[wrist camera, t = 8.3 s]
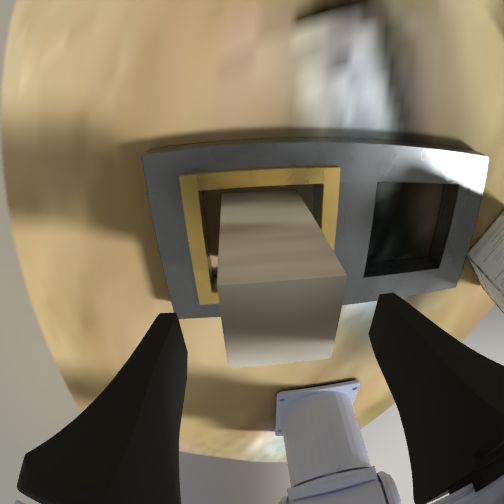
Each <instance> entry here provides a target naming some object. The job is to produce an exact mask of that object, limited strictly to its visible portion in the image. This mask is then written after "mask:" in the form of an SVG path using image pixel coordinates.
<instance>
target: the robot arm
mask: <svg viewBox="0 0 504 504" xmlns="http://www.w3.org/2000/svg"><path fill="white" fill-rule="evenodd" d="M369 337H370V341H371V344H372V347H373V351H374V354H375V357H376V359H377V362H378V364H379V366H380V368H381V371H382V373H383V375H384V377H385V380H386V382H387V384H388V386H389V389H390V391H391V393H392V395H393V398H394V400H395V402H396V405H397V408H398V411H399V413H400V417H401V421H402V425H403V428H404V432H405V436H406V441H407V446H408V451H409V456H410V463H411V470H412V478H413V496H414V502H415V504H427V503H429V502H431V501H433V500H435V499H437V498H440V497H442V496H444V495H446V494H448V493H449V494H450V495H449V496H446V497H445V498H442V499H440V500H438V501H436V502H434V503H432V504H504V366H503V365H501V364H499V363H496V362H494V361H492V360H490V359H488V358H486V357H485V356H483V355H481V354H479V353H477V352H476V351H474V350H472V349H470V348H469V347H467V346H466V345H464V344H463V343H461V342H459V341H458V340H457V339H455V338H454V337H452V336H451V335H449V334H448V333H447V332H445V331H444V330H442V329H441V328H440V327H438V326H437V325H436V324H434V323H433V322H432V321H430V320H429V319H428V318H427V317H425V316H424V315H423V314H421V313H420V312H419V311H418V310H416V309H415V308H414V307H412V306H411V305H410V304H409V303H407V302H406V301H405V300H403V299H402V298H401V297H399V296H398V295H396V294H395V293H386V294H379V298H378V301H377V305H376V309H375V313H374V317H373V320H372V324H371V327H370V331H369ZM187 354H188V352H187V349H186V345H185V342H184V338H183V334H182V331H181V327H180V323H179V320H178V316H177V313H160V314H159V315H158V316H157V318H156V319H155V321H154V322H153V324H152V325H151V327H150V328H149V330H148V331H147V333H146V334H145V336H144V337H143V339H142V341H141V342H140V343H139V345H138V346H137V348H136V349H135V351H134V352H133V354H132V355H131V356H130V358H129V359H128V361H127V362H126V363H125V365H124V366H123V367H122V368H121V370H120V371H119V372H118V374H117V375H116V376H115V378H114V379H113V380H112V381H111V382H110V384H109V385H108V386H107V387H106V388H105V389H104V391H103V392H102V393H101V394H100V395H99V396H98V397H97V398H96V399H95V400H94V401H93V402H92V403H91V404H90V405H89V406H88V407H87V408H86V409H85V410H84V411H83V412H82V413H81V414H80V415H79V416H78V417H77V418H76V419H75V420H73V421H72V422H71V423H70V424H68V425H67V426H66V427H65V428H63V429H62V430H61V431H60V432H58V433H57V434H56V435H54V436H53V437H52V438H50V439H49V440H47V441H46V442H44V443H43V444H41V445H40V446H38V447H36V448H35V449H33V450H32V451H30V452H28V453H27V454H25V457H24V460H23V464H22V468H21V471H20V475H19V479H18V483H17V488H18V490H19V491H20V492H21V493H23V494H24V495H26V496H28V497H30V498H32V499H33V500H35V501H37V502H39V503H41V504H181V497H180V482H179V432H180V424H181V416H182V409H183V402H184V395H185V387H186V380H187ZM360 385H361V383H360V381H359V380H353V381H348V382H343V383H337V384H331V385H325V386H319V387H312V388H305V389H297V390H289V391H281V392H279V393H277V399H276V425H275V435H276V436H284V442H285V449H286V456H287V462H288V469H289V475H290V482H291V488H288V489H287V492H288V496H284V497H282V498H281V500H280V502H279V503H278V504H401V500H400V496H399V493H398V490H397V487H396V485H395V482H394V481H393V478H392V477H391V476H390V475H389V474H386V473H385V472H383V471H381V472H378V473H376V470H375V466H373V467H371V465H370V462H369V458H368V455H367V451H366V448H365V445H364V441H363V438H362V435H361V431H360V428H359V425H358V422H357V419H356V415H355V412H354V409H353V406H352V405H353V402H354V400H355V397H356V395H357V392H358V390H359V387H360ZM15 504H25V503H22V502H20V501H18V500H16V501H15Z"/></svg>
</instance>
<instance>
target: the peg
mask: <svg viewBox="0 0 504 504" xmlns="http://www.w3.org/2000/svg"><path fill="white" fill-rule="evenodd" d="M346 279H347V274H346V272H345V271H344V269H343V267H342V265H341V263H340V262H339V260H338V258H337V256H336V255H335V253H334V251H333V249H332V248H331V246H330V244H329V243H328V241H327V239H326V237H325V236H324V234H323V232H322V231H321V229H320V227H319V226H318V224H317V222H316V221H315V219H314V217H313V216H312V214H311V212H310V211H309V209H308V207H307V206H306V204H305V202H304V201H303V199H302V198H301V196H300V194H299V193H298V191H297V190H283V191H261V192H243V193H228V194H222V199H221V216H220V233H219V253H218V275H217V289H218V296H219V304H220V312H221V319H222V326H223V333H224V340H225V347H226V354H227V361H228V367H229V368H237V367H252V366H265V365H276V364H286V363H295V362H304V361H312V360H319V359H326V358H331V354H332V350H333V346H334V341H335V336H336V332H337V327H338V322H339V317H340V312H341V307H342V302H343V296H344V290H345V285H346Z"/></svg>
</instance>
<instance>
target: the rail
mask: <svg viewBox="0 0 504 504" xmlns="http://www.w3.org/2000/svg"><path fill="white" fill-rule="evenodd" d="M142 161H143V167H144V174H145V180H146V186H147V191H148V197H149V203H150V208H151V213H152V219H153V224H154V229H155V233H156V238H157V243H158V248H159V252H160V257H161V261H162V265H163V270H164V274H165V278H166V282H167V286H168V290H169V294H170V298H171V302H172V306H173V310H174V313H177V316H178V319H186V318H206V317H221V312H220V304H219V296H218V289H217V276H213V274H212V266H211V259H210V252H209V244H208V236H207V228H206V220H205V212H204V203H203V194H202V191H203V190H215V189H228V188H241V187H257V186H275V185H297V184H315V190H314V215H313V217H314V219H315V221H316V222H317V224H318V226H319V227H320V229H321V231H322V232H323V234H324V236H325V237H326V239H327V241H328V243H329V244H330V246H331V248H332V249H333V251H334V253H335V255H336V256H337V258H338V260H339V262H340V263H341V265H342V267H343V269H344V271H345V272H346V274H347V279H346V285H345V290H344V296H343V302H342V305H348V304H355V303H363V302H370V301H377V300H378V298H379V294H386V293H395V294H396V295H398V296H399V297H404V296H410V295H416V294H422V293H428V292H433V291H439V290H444V289H450V288H455V287H456V285H457V282H458V280H459V277H460V274H461V271H462V268H463V265H464V262H465V259H466V256H467V253H468V249H469V246H470V243H471V239H472V236H473V232H474V228H475V225H476V221H477V217H478V213H479V208H480V204H481V199H482V195H483V190H484V185H485V179H486V174H487V168H488V161H489V157H488V156H486V155H484V154H482V153H479V152H477V151H475V150H469V149H463V148H456V147H449V146H442V145H434V144H425V143H416V142H405V141H393V140H379V139H361V138H329V137H293V138H260V139H242V140H227V141H215V142H204V143H194V144H185V145H176V146H168V147H161V148H154V149H149V150H148V151H146V152H145V153H144V154H143V155H142ZM377 182H416V183H442V184H444V189H443V195H442V200H441V206H440V211H439V215H438V220H437V225H436V229H435V233H434V238H433V242H432V246H431V250H430V253H429V257H424V258H414V259H405V260H395V261H385V262H375V263H366V260H367V254H368V248H369V242H370V235H371V229H372V222H373V214H374V206H375V198H376V189H377Z"/></svg>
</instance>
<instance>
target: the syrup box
mask: <svg viewBox="0 0 504 504" xmlns="http://www.w3.org/2000/svg"><path fill="white" fill-rule="evenodd" d="M467 257H468V259H469V261H470V263H471V265H472V267H473V269H474V271H475V273H476V275H477V277H478V279H479V282H480V284H481V286H482V288H483V289H484V290H485V292H486V293H487V294H488V295H489V296H490V298H491V299H492V300H493V301H494V302H495V303H496V305H497V306H498V307H499V308H500V310H501V311H502V312H503V313H504V211H503V212H502V213H501V214H500V215H499V217H498V218H497V219H496V220H495V222H494V223H493V224H492V225H491V226H490V227H489V229H488V230H487V231H486V232H485V233H484V234H483V236H482V237H481V238H480V239H479V240H478V242H477V243H476V244H475V245H474V246H473V247H472V248H471V249H470V251H469V252H468V253H467Z"/></svg>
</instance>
